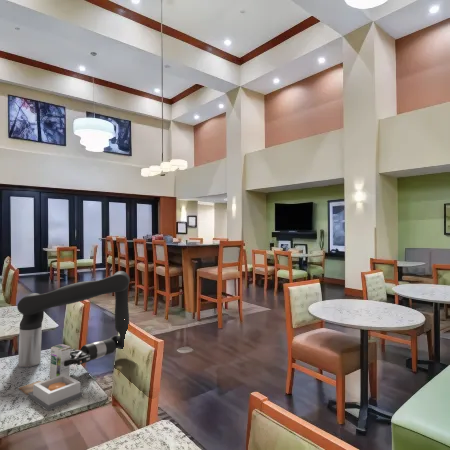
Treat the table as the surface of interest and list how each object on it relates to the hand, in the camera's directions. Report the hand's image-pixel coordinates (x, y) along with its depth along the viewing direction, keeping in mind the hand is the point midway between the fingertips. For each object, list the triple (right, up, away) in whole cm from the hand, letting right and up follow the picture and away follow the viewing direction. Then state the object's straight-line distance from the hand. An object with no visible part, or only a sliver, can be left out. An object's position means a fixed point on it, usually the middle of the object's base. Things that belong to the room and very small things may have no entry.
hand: (59, 361), depth 141 cm
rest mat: (-6, -8, -8) cm, 13 cm away
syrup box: (0, -8, 0) cm, 8 cm away
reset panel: (+6, -8, -14) cm, 17 cm away
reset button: (+6, -6, -15) cm, 17 cm away
